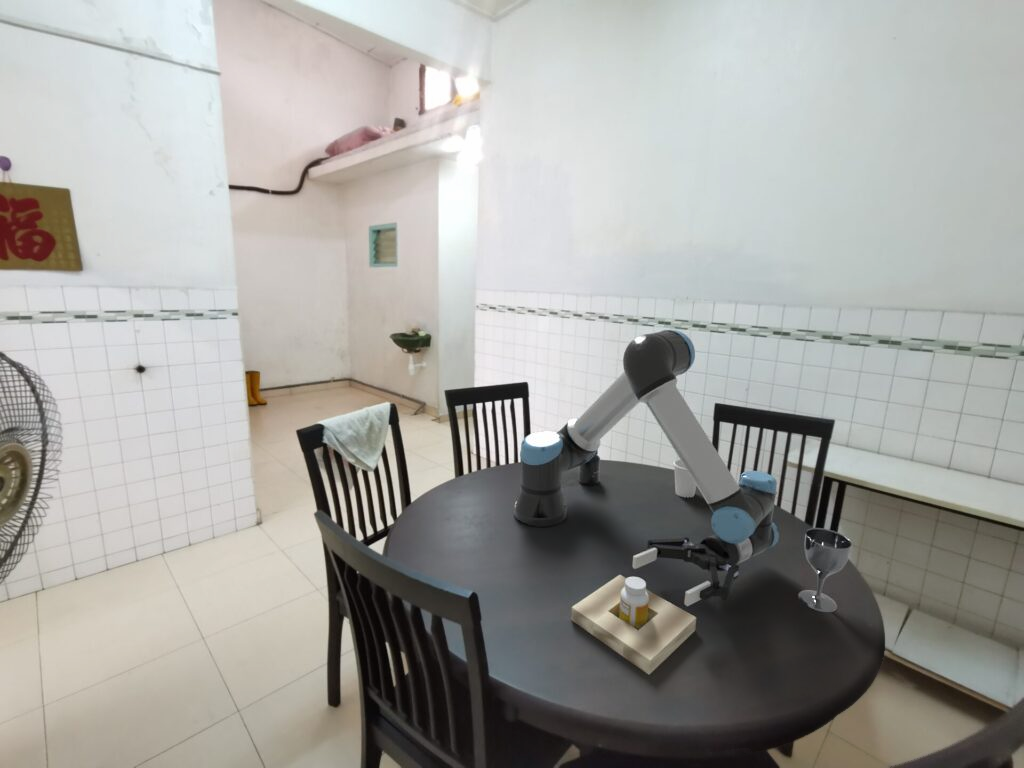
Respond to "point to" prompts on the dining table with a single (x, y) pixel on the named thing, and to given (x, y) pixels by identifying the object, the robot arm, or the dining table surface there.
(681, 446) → the robot arm
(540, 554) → the dining table surface
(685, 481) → the dixie cup
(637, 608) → the supplement bottle
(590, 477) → the supplement bottle
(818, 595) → the wine glass
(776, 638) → the dining table surface
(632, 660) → the socket block
